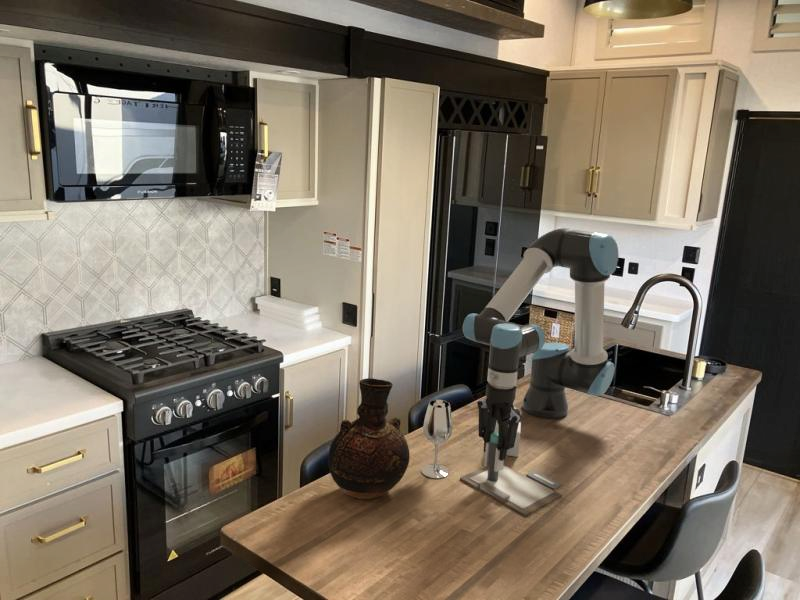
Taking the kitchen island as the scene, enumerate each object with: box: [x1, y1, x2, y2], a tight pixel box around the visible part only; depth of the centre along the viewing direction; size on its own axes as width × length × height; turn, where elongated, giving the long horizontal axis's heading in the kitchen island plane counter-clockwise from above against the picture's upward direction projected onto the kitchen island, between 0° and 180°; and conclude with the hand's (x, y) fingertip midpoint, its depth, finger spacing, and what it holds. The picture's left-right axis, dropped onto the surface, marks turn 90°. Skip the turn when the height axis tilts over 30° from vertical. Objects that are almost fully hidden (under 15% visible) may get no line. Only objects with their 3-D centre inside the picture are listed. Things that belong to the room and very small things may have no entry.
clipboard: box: [459, 464, 563, 518], centre depth 169 cm, size 15×22×2 cm
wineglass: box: [420, 399, 453, 479], centre depth 174 cm, size 8×8×20 cm
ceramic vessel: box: [327, 377, 410, 500], centre depth 161 cm, size 21×18×30 cm
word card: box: [525, 470, 563, 491], centre depth 174 cm, size 4×9×1 cm, turn 41°
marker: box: [487, 432, 499, 482], centre depth 171 cm, size 3×3×13 cm
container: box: [494, 406, 522, 458], centre depth 189 cm, size 8×8×13 cm
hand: (493, 467), depth 171 cm, fingers closed on marker, 3 cm apart
